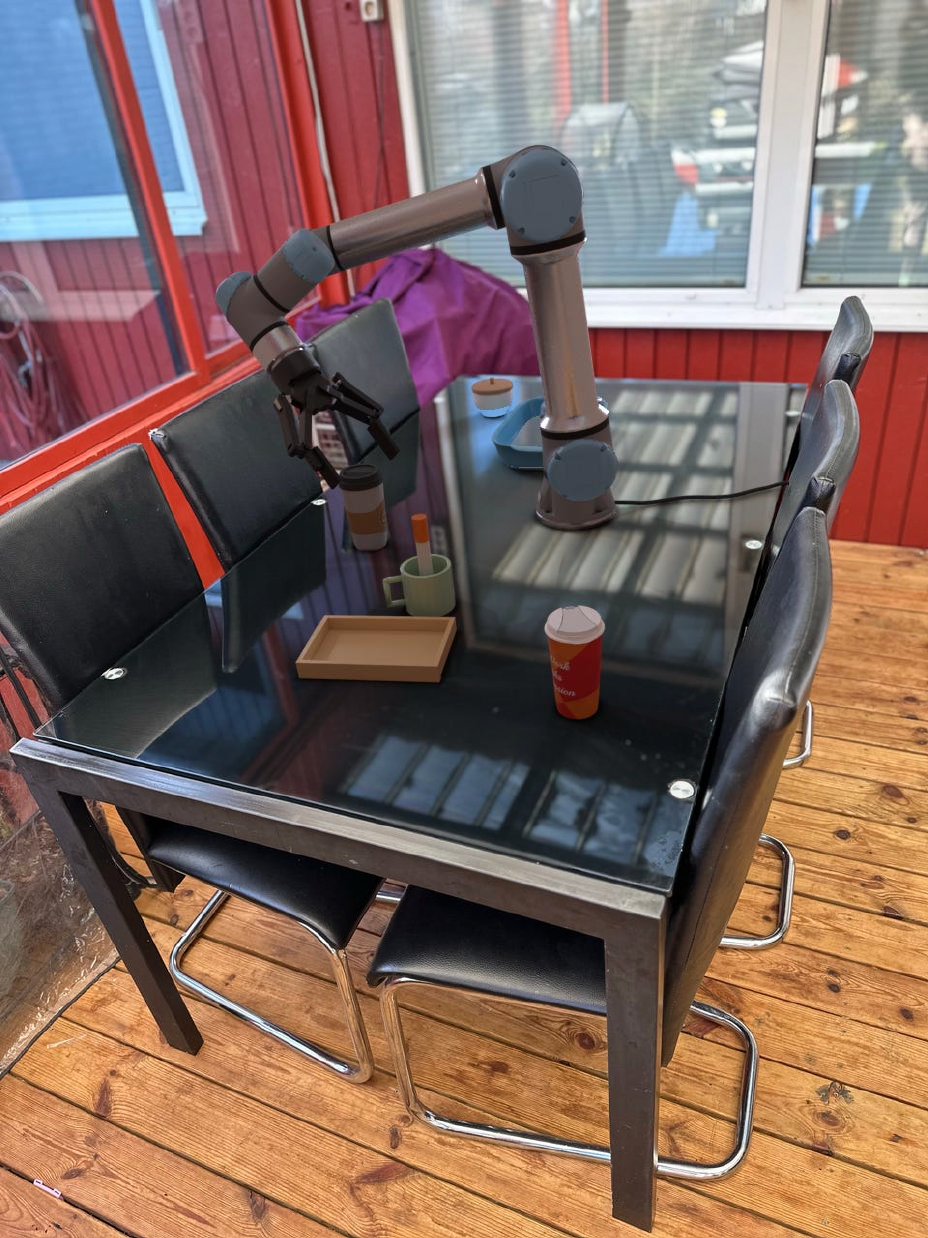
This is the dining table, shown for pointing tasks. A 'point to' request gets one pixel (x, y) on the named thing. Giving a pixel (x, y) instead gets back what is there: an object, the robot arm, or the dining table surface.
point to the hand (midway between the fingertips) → (367, 469)
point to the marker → (422, 544)
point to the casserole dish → (511, 429)
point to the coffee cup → (364, 505)
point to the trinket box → (492, 393)
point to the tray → (378, 648)
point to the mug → (424, 588)
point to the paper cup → (575, 659)
